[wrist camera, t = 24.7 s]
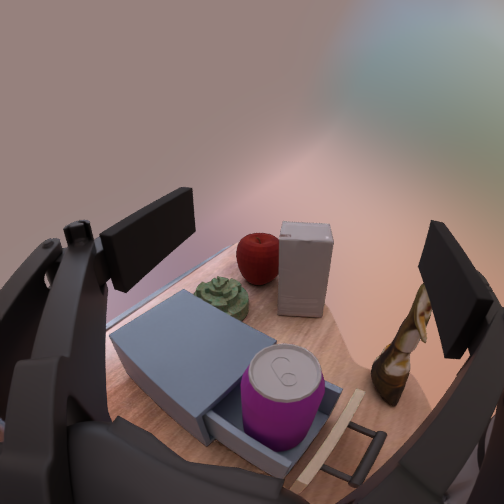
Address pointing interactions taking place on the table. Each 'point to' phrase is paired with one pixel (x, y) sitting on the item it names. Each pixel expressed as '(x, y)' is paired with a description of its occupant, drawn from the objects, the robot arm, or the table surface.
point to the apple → (258, 258)
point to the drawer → (280, 463)
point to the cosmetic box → (303, 268)
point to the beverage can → (281, 395)
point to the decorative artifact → (225, 296)
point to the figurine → (401, 350)
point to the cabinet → (187, 356)
